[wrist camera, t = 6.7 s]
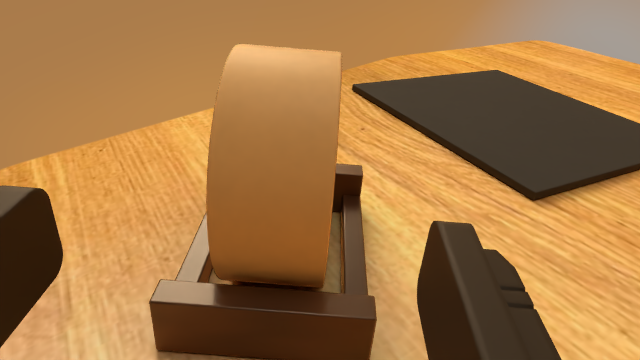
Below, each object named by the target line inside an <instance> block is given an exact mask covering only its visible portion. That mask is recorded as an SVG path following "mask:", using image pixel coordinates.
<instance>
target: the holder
mask: <svg viewBox="0 0 640 360" xmlns="http://www.w3.org/2000/svg"><path fill="white" fill-rule="evenodd" d="M362 179H363V171H362V166H360V165H348V164H336V173H335V185H334V196H333V206H332V211H338V212H341V293H329V292H316V291H304V290H291V289H278V288H265V287H252V286H240V285H227V284H214V283H207V282H208V279H209V276H210V273H211V271H212V268H213V266H212V262H211V257H210V252H209V244H208V234H207V212H206V213H205V216H204V218H203V220H202V222H201V224H200V227H199V229H198V231H197V233H196V235H195V238H194V240H193V242H192V244H191V246H190V249H189V251H188V253H187V255H186V257H185V260H184V262H183V264H182V266H181V268H180V271H179V273H178V275H177V277H176V279H175V280H163V279H162V280H160V281H159V283H158V285H157V287H156V289H155V291H154V293H153V295H152V297H151V299H150V301H149V304H150V310H151V317H152V323H153V330H154V336H155V343H156V349H157V350H164V351H177V352H190V353H203V354H216V355H229V356H242V357H254V358H267V359H280V360H369V359H370V353H371V348H372V343H373V337H374V332H375V326H376V321H377V317H376V306H375V298H374V296H368V289H367V276H366V264H365V251H364V238H363V226H362V213H361V201H360V194H361V187H362Z"/></svg>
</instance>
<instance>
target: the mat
mask: <svg viewBox="0 0 640 360" xmlns="http://www.w3.org/2000/svg"><path fill="white" fill-rule="evenodd" d="M352 90H353V91H355V92H357V93H358V94H360V95H361V96H363V97H365V98H366V99H368V100H370V101H371V102H373V103H375V104H376V105H378V106H380V107H381V108H383V109H384V110H386V111H388V112H389V113H391V114H393V115H394V116H396V117H398V118H399V119H401V120H402V121H404V122H406V123H407V124H409V125H411V126H412V127H414V128H416V129H417V130H419V131H420V132H422V133H424V134H425V135H427V136H429V137H430V138H432V139H434V140H435V141H437V142H439V143H440V144H442V145H443V146H445V147H447V148H448V149H450V150H452V151H453V152H455V153H457V154H458V155H460V156H461V157H463V158H465V159H466V160H468V161H470V162H471V163H473V164H475V165H476V166H478V167H479V168H481V169H483V170H484V171H486V172H488V173H489V174H491V175H493V176H494V177H496V178H497V179H499V180H501V181H502V182H504V183H506V184H507V185H509V186H511V187H512V188H514V189H516V190H517V191H519V192H520V193H522V194H524V195H525V196H527V197H529V198H530V199H532V200H536V199H539V198H543V197H546V196H550V195H553V194H556V193H560V192H563V191H567V190H570V189H574V188H577V187H580V186H584V185H587V184H591V183H594V182H598V181H601V180H604V179H608V178H611V177H615V176H618V175H622V174H625V173H628V172H632V171H635V170H639V169H640V124H639V123H637V122H634V121H631V120H629V119H626V118H623V117H621V116H618V115H615V114H613V113H610V112H608V111H605V110H602V109H600V108H597V107H594V106H592V105H589V104H586V103H584V102H581V101H578V100H576V99H573V98H570V97H568V96H565V95H562V94H560V93H557V92H554V91H552V90H549V89H546V88H544V87H541V86H538V85H536V84H533V83H530V82H528V81H525V80H522V79H520V78H517V77H515V76H512V75H509V74H507V73H504V72H501V71H499V70H490V71H480V72H470V73H461V74H451V75H441V76H431V77H421V78H411V79H401V80H391V81H381V82H372V83H362V84H353V87H352Z"/></svg>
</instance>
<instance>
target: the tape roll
mask: <svg viewBox="0 0 640 360" xmlns="http://www.w3.org/2000/svg"><path fill="white" fill-rule="evenodd" d="M341 79H342V54H341V52H333V51H321V50H307V49H296V48H283V47H271V46H259V45H246V44H237V45H236V46H234V48H233V49H232V50H231V52H230V54H229V56H228V58H227V60H226V63H225V66H224V69H223V72H222V75H221V79H220V83H219V87H218V92H217V96H216V102H215V107H214V113H213V120H212V127H211V135H210V144H209V155H208V168H207V194H206V212H207V234H208V244H209V252H210V257H211V262H212V266H213V269H214V272H215V274H216V276H217V277H218V278H219V279H221V280H229V281H242V282H255V283H267V284H280V285H293V286H306V287H318V288H321V287H323V284H324V279H325V273H326V265H327V256H328V247H329V237H330V227H331V217H332V206H333V196H334V185H335V173H336V161H337V146H338V130H339V115H340V99H341Z"/></svg>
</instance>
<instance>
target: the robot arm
mask: <svg viewBox="0 0 640 360" xmlns="http://www.w3.org/2000/svg"><path fill="white" fill-rule="evenodd" d="M62 259H63V249H62V245H61V241H60V237H59V233H58V229H57V225H56V221H55V218H54V214H53V210H52V206H51V202H50V199H49V196H48V194H47V193H46V192H45V191H44V190H43V189H40V188H28V187H16V186H0V348H1V346H2V345H3V344H4V342H5V341H6V340H7V339H8V337H9V336H10V335H11V334H12V332H13V331H14V330H15V329H16V327H17V326H18V325H19V324H20V322H21V321H22V320H23V318H24V317H25V316H26V315H27V313H28V312H29V311H30V310H31V308H32V307H33V306H34V305H35V303H36V302H37V301H38V300H39V298H40V297H41V296H42V295H43V293H44V292H45V291H46V289H47V288H48V287H49V286H50V284H51V283H52V282H53V281H54V279H55V278H56V277H57V275H58V273H59V271H60V268H61V264H62ZM417 304H418V310H419V315H420V320H421V325H422V330H423V335H424V339H425V344H426V349H427V354H428V359H429V360H561V358H560V356H559V354H558V352H557V350H556V348H555V346H554V344H553V342H552V340H551V338H550V336H549V334H548V332H547V330H546V328H545V326H544V324H543V322H542V320H541V318H540V316H539V314H538V312H537V310H536V309H534V304H533V302H532V300H531V298H530V296H529V295H528V293H527V292H525V287H524V285H523V283H522V281H521V279H520V277H519V275H518V273H517V271H516V269H515V267H514V266H512V265H511V264H510V263H509V262H508V261H507V260H506V259H505V258H504V257H503V256H502V255H501V254H500V253H499V252H498V251H497V250H489V249H483V248H482V245H481V243H480V241H479V238H478V236H477V234H476V232H475V229H474V227H473V226H472V225H471V224H469V223H456V222H444V221H433V223H432V224H431V227H430V230H429V234H428V239H427V243H426V247H425V252H424V256H423V260H422V264H421V269H420V273H419V278H418V285H417Z"/></svg>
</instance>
